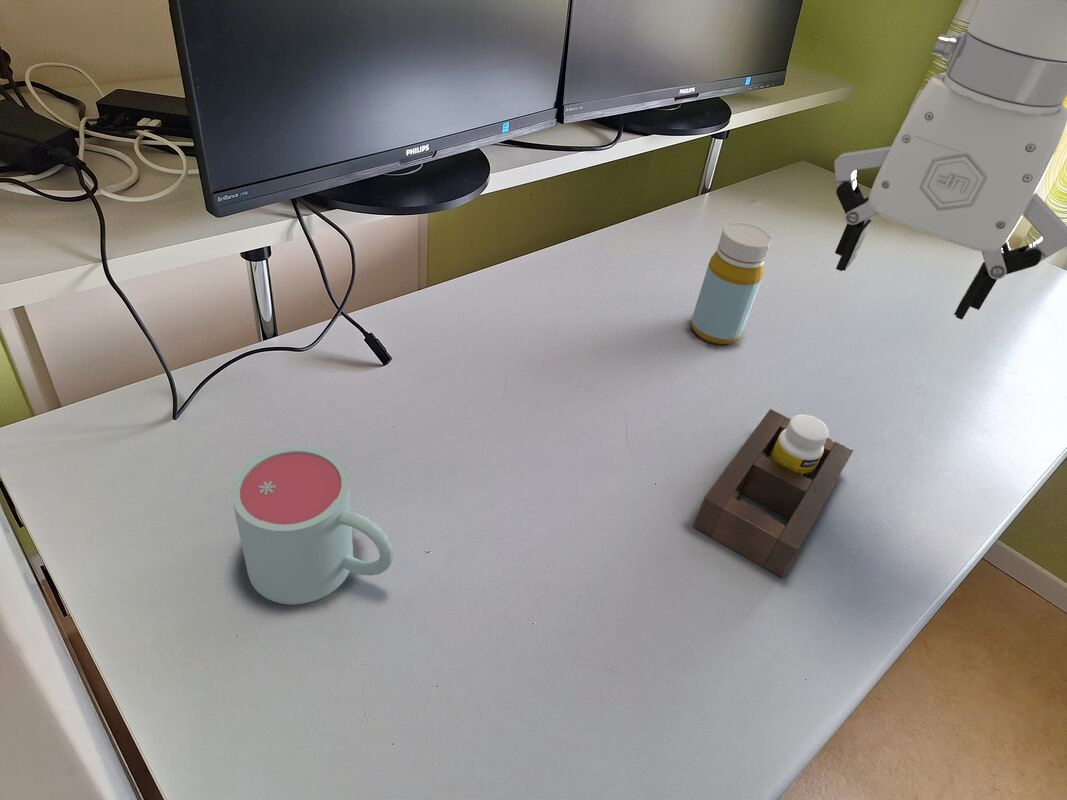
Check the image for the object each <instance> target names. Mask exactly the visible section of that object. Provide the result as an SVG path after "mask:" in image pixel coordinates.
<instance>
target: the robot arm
mask: <svg viewBox="0 0 1067 800" xmlns="http://www.w3.org/2000/svg"><path fill="white" fill-rule="evenodd" d="M931 55H934V56H938V57H940V58H941V60H944V61H945V65H946V66H947V68H946V69H945V72H940V73H937V74H935V75H933V76H932V77H931V78H930V79H929V80H928V82H927V84H926V85H925V86H924V88H923V90H922V91H921V93H920V94H919V96H917V97H918V98H917V99H916V100H915V102H914V103H913V105H912V107H911V109H910V110H909V112H908V114H907V115H906V118H905V119H904V120H903V123H902V125H901V127H900V129H899V131H898V133H897V135H896V136H895V139H894V141H893V143H892V144H891V146H890V145H889V146H883V147H876V148H870V149H861V150H856V151H849V152H843V153H841V154H840V155H839V156H838V157H836V158H835V159H834V162H833V168H834V176H835V177H834V178H835V183H836V189H835V193H836V196H837V198H838V201H839V203H840V205H841V207H842V209H843V211H844V214H845V216H844V220H845V223H846V224H845V227H844V230H843V232H842V235H841V236H840V240H839V242H838V244H837V246H836V248H835V251H834V254H835V255H838V256H840V258H839V261H838V263H837V264H836V267H835V270H838V271H839V272H843V271H844V272H846V271H847V269H848V268H849V267H850V266H851V264H852V263H853V262H854V260H855V259H856V257H857V255H858V252H859V250H860V248H861V246H862V244H863V241H864V239H865V237H866V235H867V233H868V230H869V228H870V226H871V224H872V222H873V221H872V220H871V218H872V217H875V216H877V215H879V216H881V217H883V218H885V219H887V220H889V221H893V222H895V223H898V224H901V225H903V226H905V227H908V228H911V229H913V230H915V231H918V232H922V233H924V234H928V235H930V236H932V237H936V238H939V239H940V240H943V241H946V242H949V243H952V244H955V245H958V246H961V247H964V248H966V249H969V250H973V251H977V252H981V255H982V258H983V262H982V263H981V265H980V267H979V268H978V270H977V272H976V273H975V275H974V277H973V279H972V280H971V282H970V284H969V286H968V288H967V289H966V291H965V293H964V294H963V296H962V298H961V300H960V301H959V303H958V306H957V307H956V309H955V312H954V313H953V315H954V316H955V318H956V319H958V320H963V319H964V317H965V316H966V314H967V312H969V310H970V308H972V309H975V310H978V311H979V310H980V309H981V307H982V306H983V305H984V302H985V301H986V299H987V298H988V297H989V294H990V293H991V291H992V289H993V287H994V286H995V285H996V282H997V281H998V280H1000V279H1003V278H1004V277H1006V275H1009V274H1013V273H1017V272H1020V271H1023V270H1026V269H1030V268H1033V267H1036V266H1037V265H1038V264H1039V263H1040V262H1042V261H1044V260H1045V259H1047V258H1050V257H1051V256H1052V255H1054V254H1056V253H1058V252H1059V251H1061V250H1062V249H1064V248H1065V247H1067V225H1066V223H1065V222H1064V221H1063V220H1062V219H1061V218H1060V217H1059V215H1057V214H1056V213H1055V211H1053V210H1052V208H1051V207H1050V206H1049V205H1048V204H1047V203H1046V202H1045V201H1044V200H1043V198H1042V197H1041V196H1040V195H1039V194H1038V193H1037V190H1038V188H1039V185H1040V184H1041V182H1042V180H1043V178H1044V176H1045V175H1046V172H1047V170H1048V168H1049V166H1050V164H1051V162H1052V159H1053V158H1054V156H1055V153H1056V152H1057V149H1058V147H1059V144H1060V142H1061V139H1062V136H1063V134H1064V131H1065V128H1066V126H1067V107H1066V106H1065V105H1063V103H1064V101H1065V99H1066V98H1067V0H979V1H978V4H977V5H976V8H975V10H974V12H973V14H972V17H971V19H970V21H969V23H968V25H967V28H966V30H965V31H963V32H961V33H959V34H958V35H956V34H952V35H947V34H944V33H940V35H939V36H938V38H937V40H936V42H935V44H934V46H933V49H932V52H931ZM877 168H879V171H878V173H877V175H876V178H875V179H874V181H873V185H872V187H871V189H870V192H869V195H867V196H864V195H863V193H862V191H861V188H860V185H859V183H858V182H857V179H856V178H857V171H862V170H871V169H877ZM1023 217H1024V218H1025V219H1026V220H1027V221H1028V222H1029V223H1030V225H1031V226H1033V228H1034V229H1035V230H1036V231H1037V232H1038V233H1039V234H1040V235H1041V237H1040V238H1038V239H1037V240H1036V241H1035V242H1033V243H1030V244H1026V245H1023V246H1020V247H1017V248H1013V249H1011V247H1010V244H1009V241H1008V240H1009V238H1010V237H1011V236H1012V234H1013V232H1014V231H1015V230H1016V228H1017V226H1018V224H1019V223H1020V221H1021V219H1022V218H1023Z"/></svg>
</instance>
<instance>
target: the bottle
mask: <svg viewBox="0 0 1067 800" xmlns="http://www.w3.org/2000/svg"><path fill="white" fill-rule="evenodd" d="M772 243H773V237H772V235H771V234H770V233H769V232H768V231H767V230H766V229H764V228H763V227H760V226H758V225H755V224H752V223H749V222H742V221H735V222H730V223H727V224H726V225H725V226H724V227H723V228H722V231H721V235H720V238H719V241H718V245H717V248H716V250H715V252H714V253H713V255H711V257H710V259H709V261H708V265H707V267H706V271H705V274H704V278H703V281H702V283H701V287H700V291H699V294H698V296H697V301H696V303H695V307H694V310H693V313H692V317H691V320H690V324H691V328H692V329H693V331H694V332H695V334H696V335H697V336H698V337H699V338H701V339H702V340H703V341H706V342H709V343H711V344H715V345H728V344H731V343H733V342H736V341H738V340H739V339H740V338H741V337H742V334H743V332H744V330H745V326H746V324H747V321H748V318H749V316H750V313H751V310H752V308H753V305H754V303H755V300H756V297H757V294H758V291H759V289H760V286H761V284H762V280H763V277H764V274H765V265H764V264H765V261H766V259H767V256H768V254H769V252H770V248H771V246H772Z"/></svg>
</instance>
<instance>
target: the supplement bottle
mask: <svg viewBox="0 0 1067 800" xmlns="http://www.w3.org/2000/svg"><path fill="white" fill-rule="evenodd" d="M790 419H791V420H790V422H789V424H788V426H787V428H786V429H784V430H783V431H782V432H781V433H780V435H779V437H778V439H777V442H776V444H775V446H774V448H773V450H772V452H771V454H770V455H769V457H768V458H769V459H771V460H773V461H775V462H777V463H779V464H781V465H783V466H785V467H787V468H789V469H790V470H792V471H794V472H796V473H798V474H800V475H802V476H804V477H806V478H808V479H810V480H811V478H812V477H811V475H812V473H813V471H814V469H815V467H816V466H817V464H818V462H819V460H820V458H821V456H822V454H823V451H824V444H825V441H826V439H827V437H828V438H829V433H830V432H829V429H828V427H827V425H826V424H825V422H823V421H822V420H820V419H818V418H817V417H815V416H812V415H809V414H805V413H803V414H802V413H801V414H796V415H794V416H792V417H791V418H790Z"/></svg>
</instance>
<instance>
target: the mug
mask: <svg viewBox="0 0 1067 800" xmlns="http://www.w3.org/2000/svg"><path fill="white" fill-rule="evenodd" d="M349 480H350V479H349V474H348V472H347V470H346V467H345V465H344V464H343V463H342V462H341V461H340V460H339V459H338V457H335V456H334V455H332V454H331V453H329V452H328V451H325V450H322V449H319V448H316V447H311V446H302V445H296V446H295V445H294V446H293V445H292V446H285V447H280V448H275V449H273V450H269V451H267V452H264V453H262V454H260V455H259V456H257V457H255V458H254V459H252V460H251V461H249V462H248V463H247V464H246V465H245V466H243V468H242V469H241V470H240V471H239V473H238V474H237V476H236V477H235V479H234V481H233V484H232V487H231V500H232V506H233V510H234V514H235V519H236V524H237V530H238V534H239V539H240V542H241V549H242V552H243V557H244V562H245V566H246V571H247V576H248V579H249V582H250V584H251V585H252V587H253V589H254V590H255V591H256V592H257V593H258V594H259V595H261V596H262V597H264V598H265V599H266V600H269V601H271V602H274V603H278V604H283V605H291V606H292V605H303V604H308V603H309V604H310V603H312V602H316V601H319V600H321V599H323V598H325V597H327V596H329V595H330V594H332V593H333V592H335V591H336V590H337V589H338V588H339V587H340V586H341V585H342V584H343V583H344V582H345V580H346V579H347V578H348V576H349V574H350V572H351V573H353V574H358V575H361V576H376V575H381V574H382V573H384V572H386V571H388V569H389V567H390V566H391V565H392V563H393V559H394V550H393V545H392V542H391V541H390V539H389V537H388V536H387V535H386V533H385V532H384V530H383V529H382V528H381V527H379V526H378V525H377V524H376V523H375V522H374V521H372V520H370V519H369V518H368V517H366V516H364V515H361V514H359V513H358V512H353V511H351V495H350V481H349ZM353 529H355V530H358V531H359V532H361V533H362V534H364V535H365V536H366V537H367V538H369V540H371V541H372V542H373V544H374V545H375V547H376V548H377V549H378V553H379V558H378V559H377V560H374V561H366V560H362V559H359V558H356V557H354V547H353Z"/></svg>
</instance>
